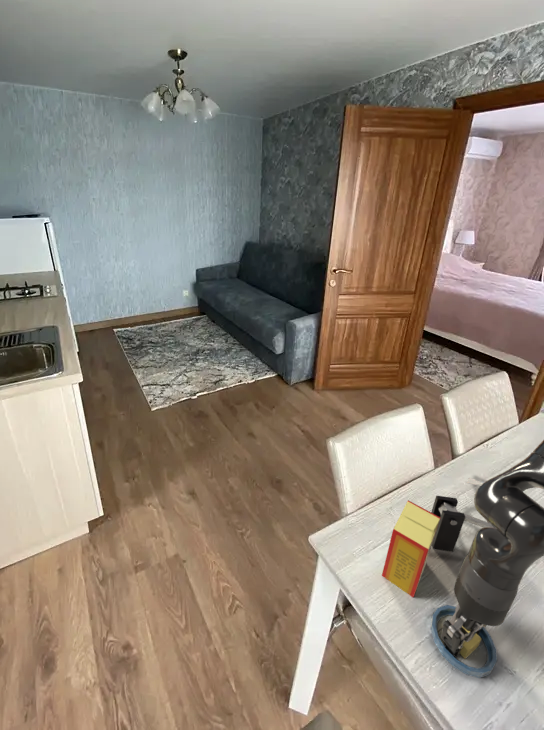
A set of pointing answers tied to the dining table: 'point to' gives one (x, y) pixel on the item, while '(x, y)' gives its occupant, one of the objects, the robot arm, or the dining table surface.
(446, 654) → the blue hoop band
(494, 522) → the robot arm
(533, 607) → the dining table surface
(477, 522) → the slicer blade
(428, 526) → the baking soda box
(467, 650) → the butter pat
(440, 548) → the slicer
